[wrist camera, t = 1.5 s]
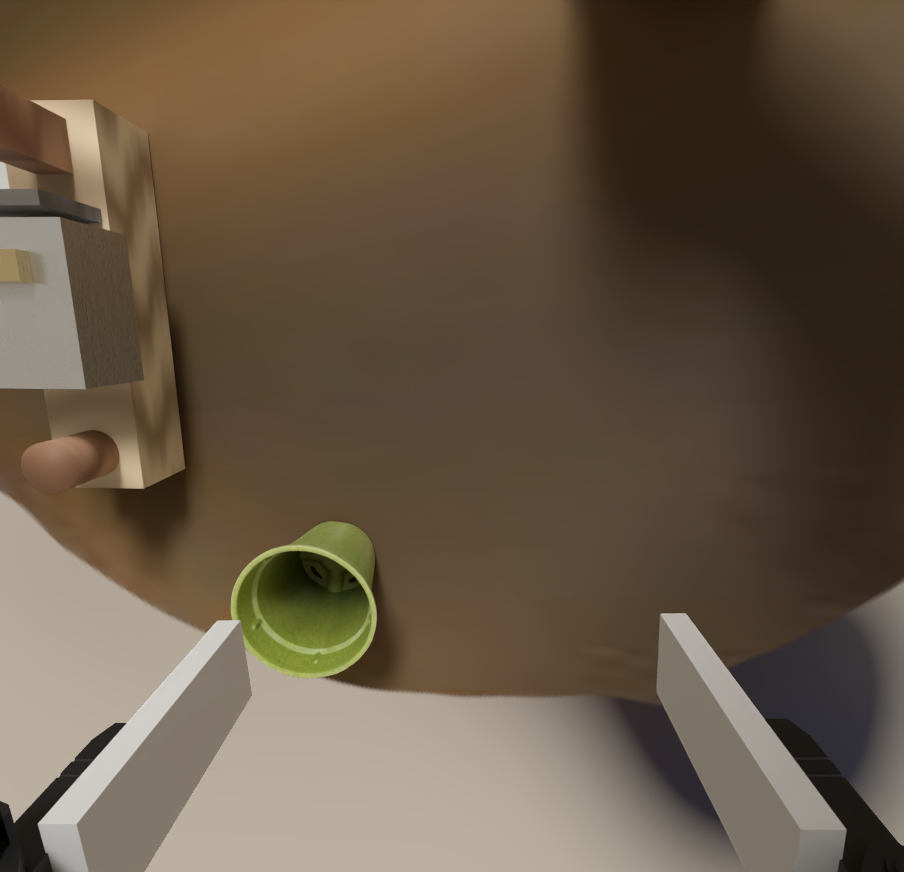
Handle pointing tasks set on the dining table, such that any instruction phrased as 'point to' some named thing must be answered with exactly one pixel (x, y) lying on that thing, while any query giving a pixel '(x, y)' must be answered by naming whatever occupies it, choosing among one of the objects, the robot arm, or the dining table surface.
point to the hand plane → (133, 214)
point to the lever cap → (65, 306)
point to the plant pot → (309, 602)
